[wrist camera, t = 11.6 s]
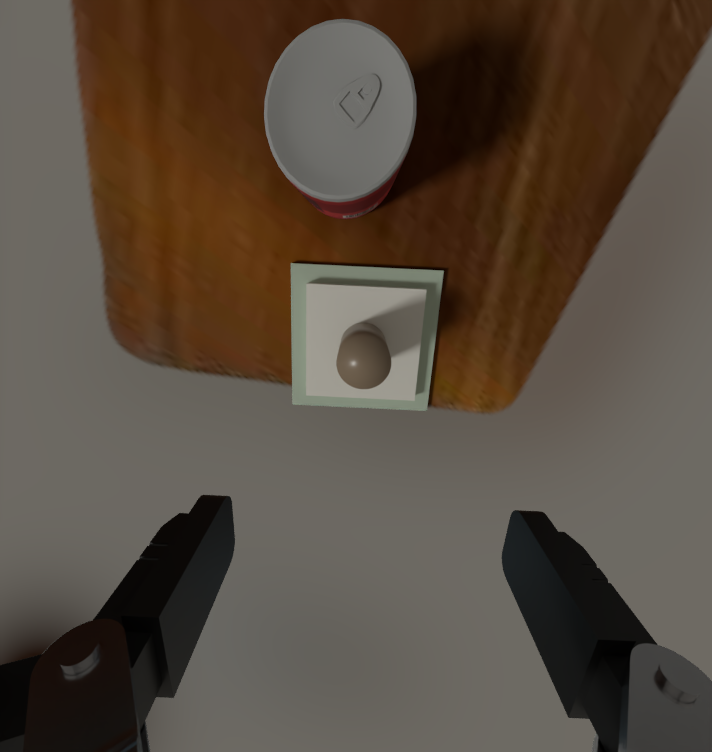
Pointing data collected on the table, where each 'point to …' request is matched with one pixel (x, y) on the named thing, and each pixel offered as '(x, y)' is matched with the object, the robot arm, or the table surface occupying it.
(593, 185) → the table surface
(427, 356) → the mat
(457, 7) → the table surface
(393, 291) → the lid
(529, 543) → the robot arm
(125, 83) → the table surface
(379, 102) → the canned food
